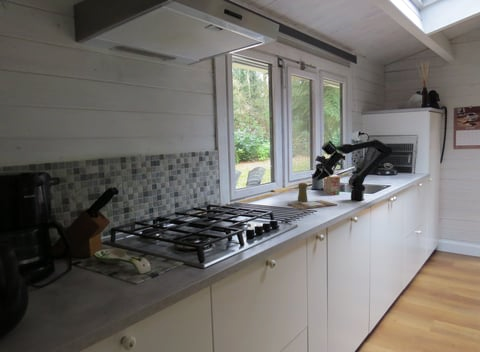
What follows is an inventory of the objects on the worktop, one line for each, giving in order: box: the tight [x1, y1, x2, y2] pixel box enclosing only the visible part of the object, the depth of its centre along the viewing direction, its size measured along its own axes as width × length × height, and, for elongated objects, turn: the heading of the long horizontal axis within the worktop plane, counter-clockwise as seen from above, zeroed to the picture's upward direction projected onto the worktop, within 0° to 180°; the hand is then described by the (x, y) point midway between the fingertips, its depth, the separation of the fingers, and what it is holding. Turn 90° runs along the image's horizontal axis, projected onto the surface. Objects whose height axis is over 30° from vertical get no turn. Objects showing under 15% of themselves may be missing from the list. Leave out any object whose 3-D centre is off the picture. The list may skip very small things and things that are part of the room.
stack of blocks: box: [323, 174, 341, 196], centre depth 253 cm, size 21×6×12 cm, turn 179°
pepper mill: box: [297, 182, 309, 203], centre depth 221 cm, size 6×6×11 cm
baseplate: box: [287, 199, 338, 211], centre depth 209 cm, size 24×14×1 cm, turn 117°
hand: (314, 179), depth 220 cm, fingers open, 9 cm apart
